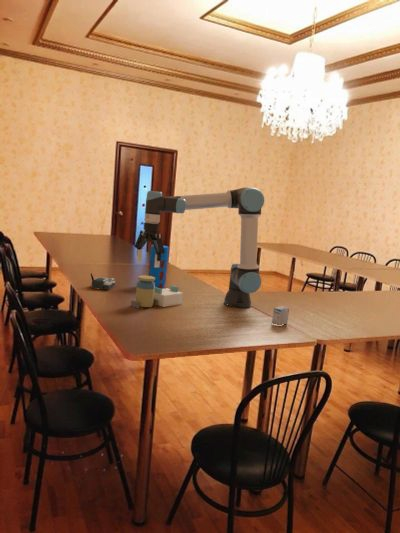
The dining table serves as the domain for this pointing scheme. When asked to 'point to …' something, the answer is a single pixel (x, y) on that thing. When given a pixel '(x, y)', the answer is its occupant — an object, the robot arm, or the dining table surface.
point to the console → (164, 297)
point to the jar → (145, 291)
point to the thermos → (162, 269)
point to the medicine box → (280, 315)
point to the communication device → (103, 282)
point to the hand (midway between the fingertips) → (147, 264)
